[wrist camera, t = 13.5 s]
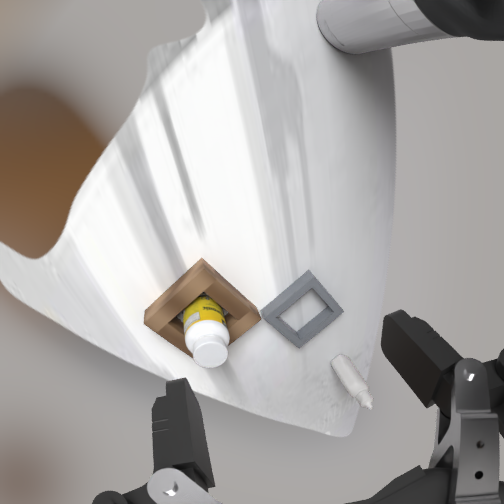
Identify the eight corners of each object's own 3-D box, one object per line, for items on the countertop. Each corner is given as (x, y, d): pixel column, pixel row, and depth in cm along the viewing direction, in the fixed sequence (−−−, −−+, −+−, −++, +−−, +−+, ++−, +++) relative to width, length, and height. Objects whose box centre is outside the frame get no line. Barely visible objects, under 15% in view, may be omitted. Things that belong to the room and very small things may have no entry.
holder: (308, 269, 44) (314, 276, 42) (338, 304, 48) (344, 311, 46) (260, 310, 45) (264, 318, 43) (294, 340, 49) (299, 348, 47)
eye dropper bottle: (331, 376, 55) (358, 422, 45) (329, 357, 53) (359, 405, 42) (351, 367, 56) (381, 411, 45) (351, 348, 53) (383, 393, 43)
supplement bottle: (229, 307, 43) (244, 354, 35) (201, 330, 44) (210, 379, 35) (202, 284, 41) (211, 329, 32) (174, 309, 42) (176, 357, 33)
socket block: (201, 257, 39) (204, 268, 37) (256, 306, 44) (261, 319, 42) (144, 310, 41) (143, 323, 38) (201, 351, 46) (203, 364, 43)
